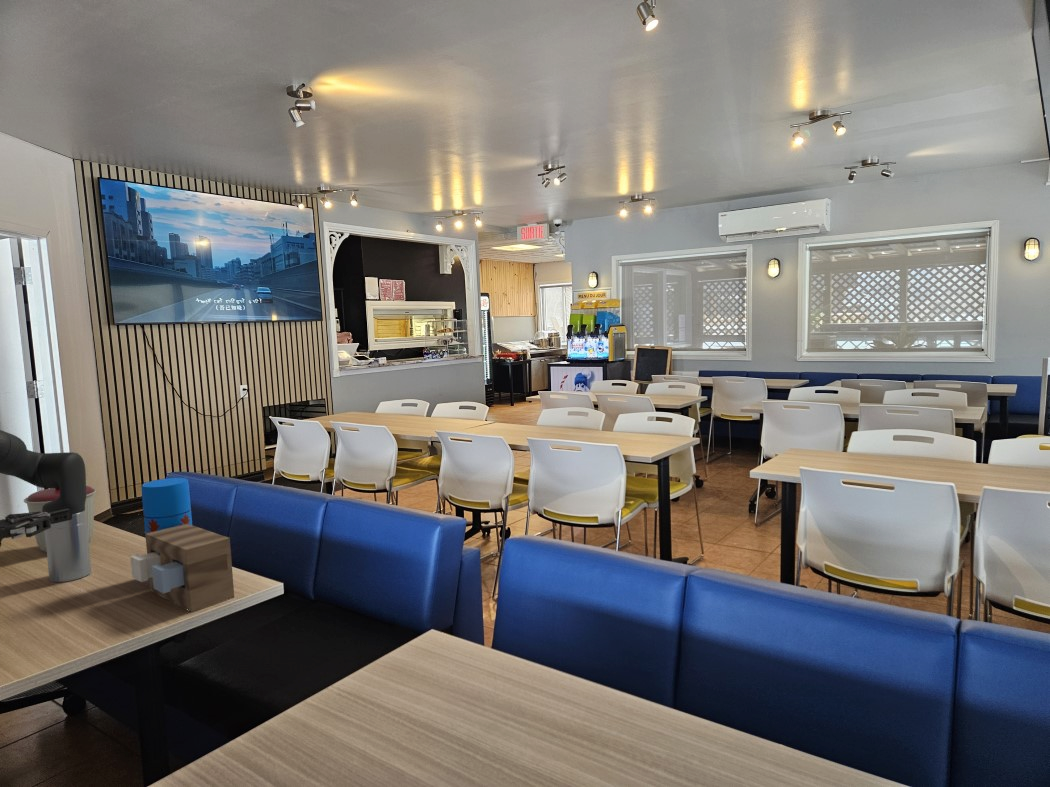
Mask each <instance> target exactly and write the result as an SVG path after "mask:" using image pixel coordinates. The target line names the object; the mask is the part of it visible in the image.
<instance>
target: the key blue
mask: <svg viewBox="0 0 1050 787" xmlns="http://www.w3.org/2000/svg"><path fill="white" fill-rule="evenodd" d="M152 575H153V586H154V589H156V590H158V591H160V592H162V593H167V592H170V591H171V589H173V588H176V587H179V586H182V585H185V581H184V570H183V563H182V562H179V561H175V562H172V563H168V564H165V565H159V564H158V565H154V566H152Z"/></svg>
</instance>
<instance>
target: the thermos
mask: <svg viewBox="0 0 1050 787" xmlns="http://www.w3.org/2000/svg"><path fill="white" fill-rule="evenodd" d="M141 500H142V511H143V521H144V532H145V533H144V534H146V533H150V532H155V531H159V530H163V529H167V528H171V527H175V526H179V525H183V524H190V525H193V519H192V518H193V517H192V507H191V506H192V505H191V496H190V485H189V480H188V478H184V477H171V478H164V479H163V478H162V479H155V480H151V481H148V482H144V483H143V484H142V486H141Z"/></svg>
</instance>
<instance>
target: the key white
mask: <svg viewBox="0 0 1050 787" xmlns="http://www.w3.org/2000/svg"><path fill="white" fill-rule="evenodd" d="M158 564H159V565H161V558H160V553H158V552H152V553H148V554H147V553H144V554H142V555H139V554H134V555H131V556H130V567H131V576H132V578H133V579H135V580H136V581H138V582H140V583H143V582H146V581H149V578H150V577H153V575H152V566H154V565H158Z"/></svg>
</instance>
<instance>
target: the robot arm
mask: <svg viewBox="0 0 1050 787" xmlns="http://www.w3.org/2000/svg"><path fill="white" fill-rule="evenodd" d="M86 472H87V471H86V464H85V460H84V459H83V457H82V455H80V454H79V453H78V452H49V453H48V452H45V453H44V452H43V453H42V452H37V451H32V450H30V449H28V448H27V445H26V444H25V441H23V440H22V439H21V438H20V437H18V436H17V435H15V434H12V433H11V432H7V431H4V430H3V429H0V474H3V475H5V476H12V477H15V478H18V479H20V480H21V481H23V482H26V483H29V484H31V485H33V486H35V487H37V488H40V489H50V488H60V496H59V498H57V499H56V500H54V501H51V502H48V503H46V504H45V505H43V507H42V513H41V512H39V511H38V512H31V513H29V512H22V513H9V514H8V515H7V516H5V517H4V519H0V548H1V547H2V541H3V539H8V538H9V539H10V538H11V539H12V540H15V539H19V538H22V537H23V536H25V538H31V537H35V535H36V534H38V533H41V532H43V531H44V532H45V541H46V550H47V552H46V558H47V568H48V569H47V570H48V577H49V578H48V579H49V581H50V582H52V583H63V582H70V581H75V580H78V579H81V578H84V577H86V576H89V575H90V574H91V573H92V564H91V552H90V542H89V541H88V531H87V521H86V512H85V501H86V486H87V477H86V476H87V474H86Z"/></svg>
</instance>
